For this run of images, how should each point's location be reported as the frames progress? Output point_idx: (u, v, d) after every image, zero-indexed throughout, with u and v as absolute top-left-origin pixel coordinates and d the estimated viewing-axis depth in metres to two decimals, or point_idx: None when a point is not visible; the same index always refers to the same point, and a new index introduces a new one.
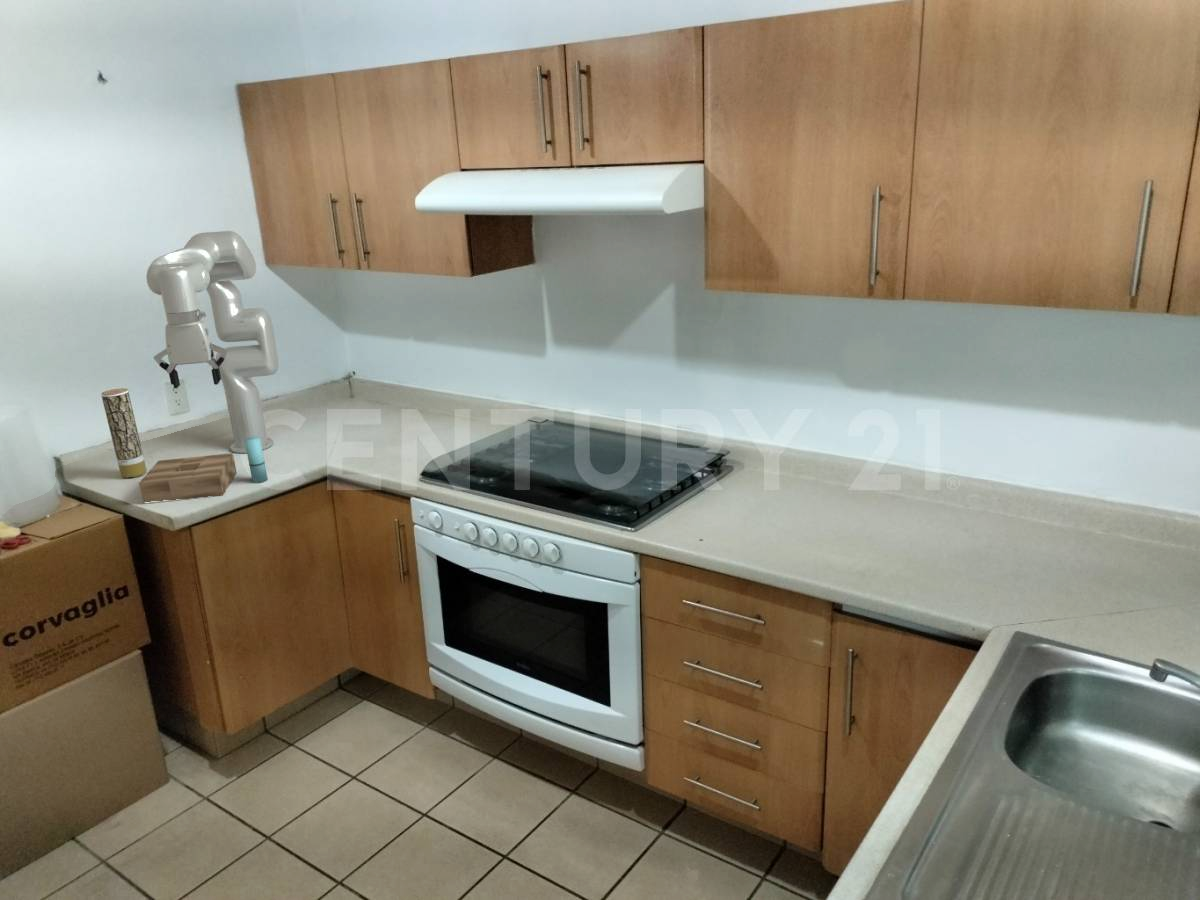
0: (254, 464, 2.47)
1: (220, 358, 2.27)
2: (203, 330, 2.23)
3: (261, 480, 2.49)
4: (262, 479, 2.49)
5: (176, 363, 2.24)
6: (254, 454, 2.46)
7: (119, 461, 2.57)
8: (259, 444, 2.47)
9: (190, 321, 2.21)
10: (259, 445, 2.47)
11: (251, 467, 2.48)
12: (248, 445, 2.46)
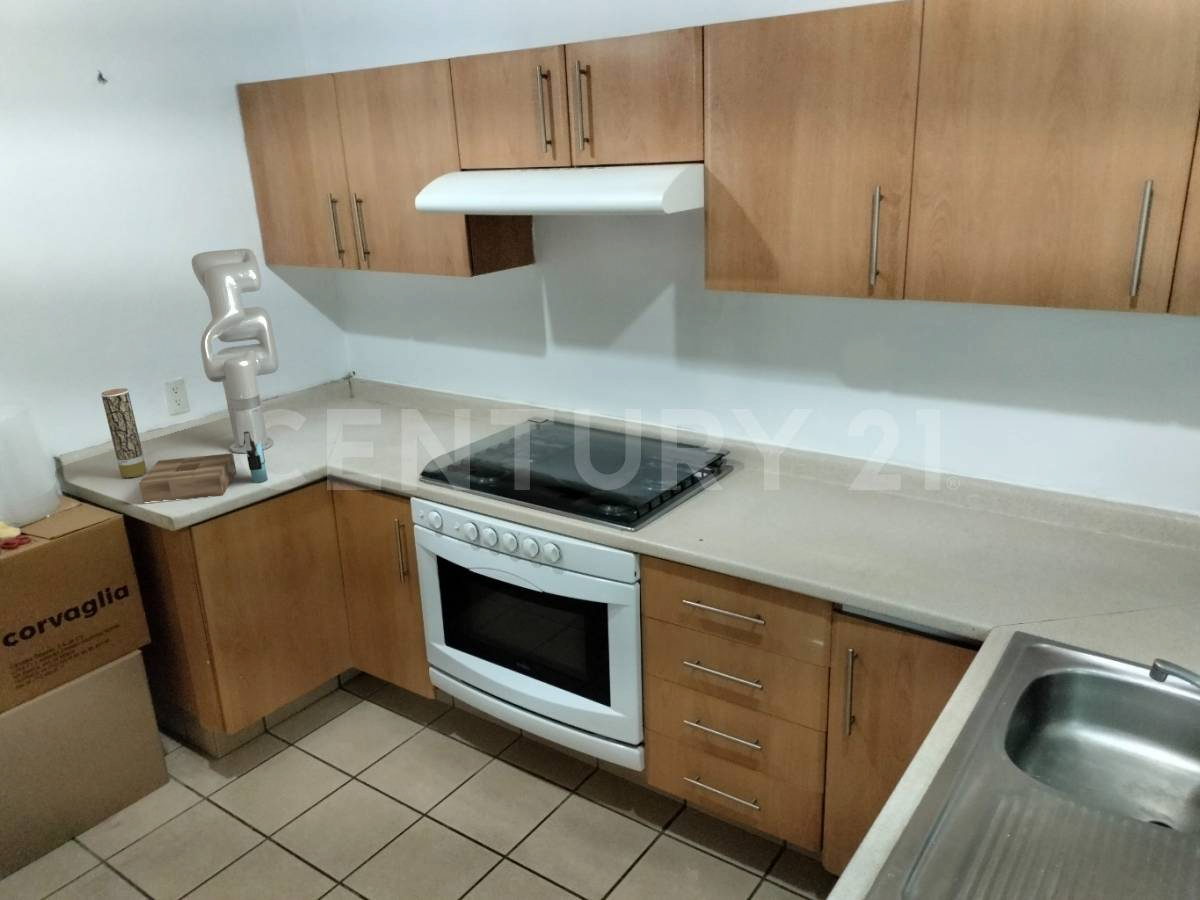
0: None
1: None
2: None
3: (261, 480, 2.49)
4: (262, 479, 2.49)
5: (257, 443, 2.44)
6: None
7: (119, 461, 2.57)
8: (259, 444, 2.47)
9: None
10: (259, 445, 2.47)
11: None
12: None
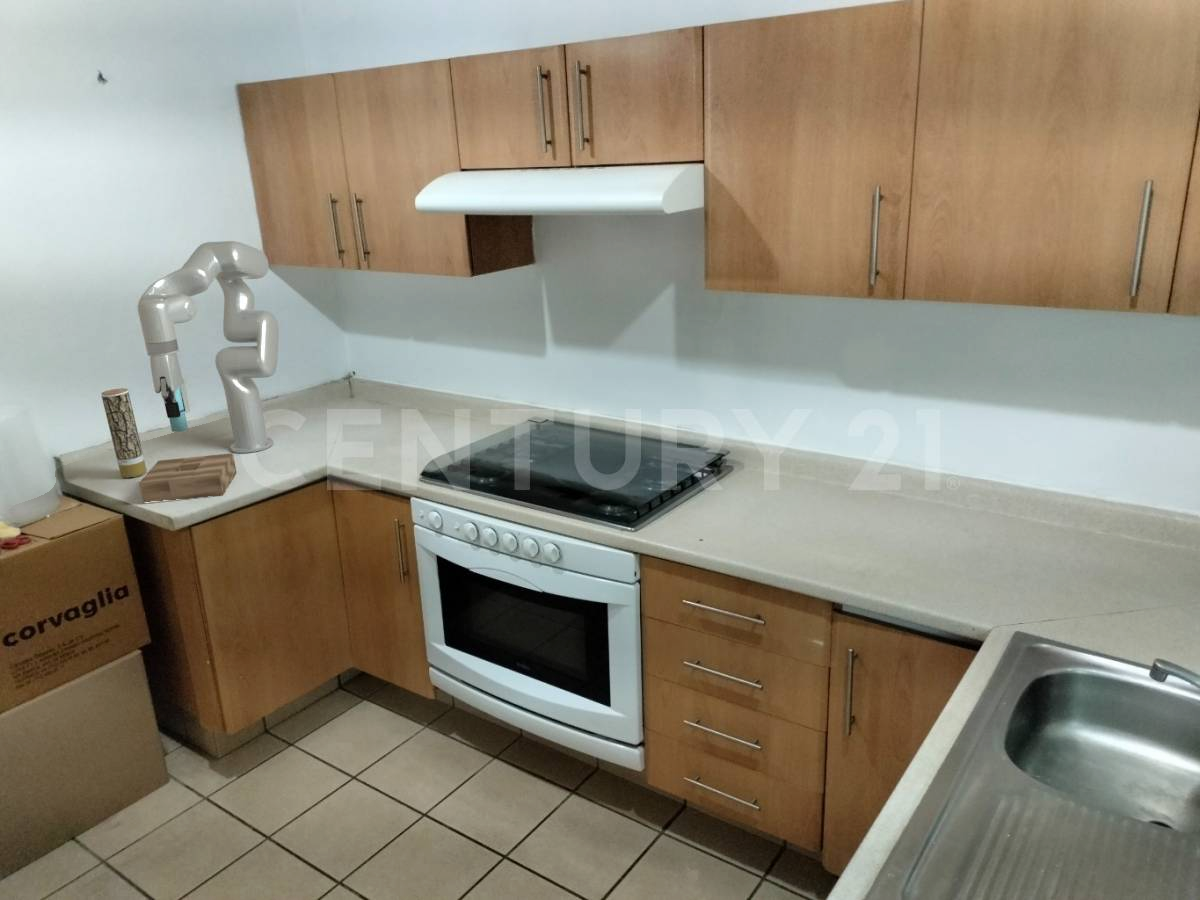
0: None
1: (179, 386, 2.44)
2: None
3: (180, 428, 2.41)
4: (181, 427, 2.41)
5: (175, 389, 2.36)
6: None
7: (119, 461, 2.57)
8: (177, 391, 2.39)
9: None
10: (177, 392, 2.39)
11: None
12: None
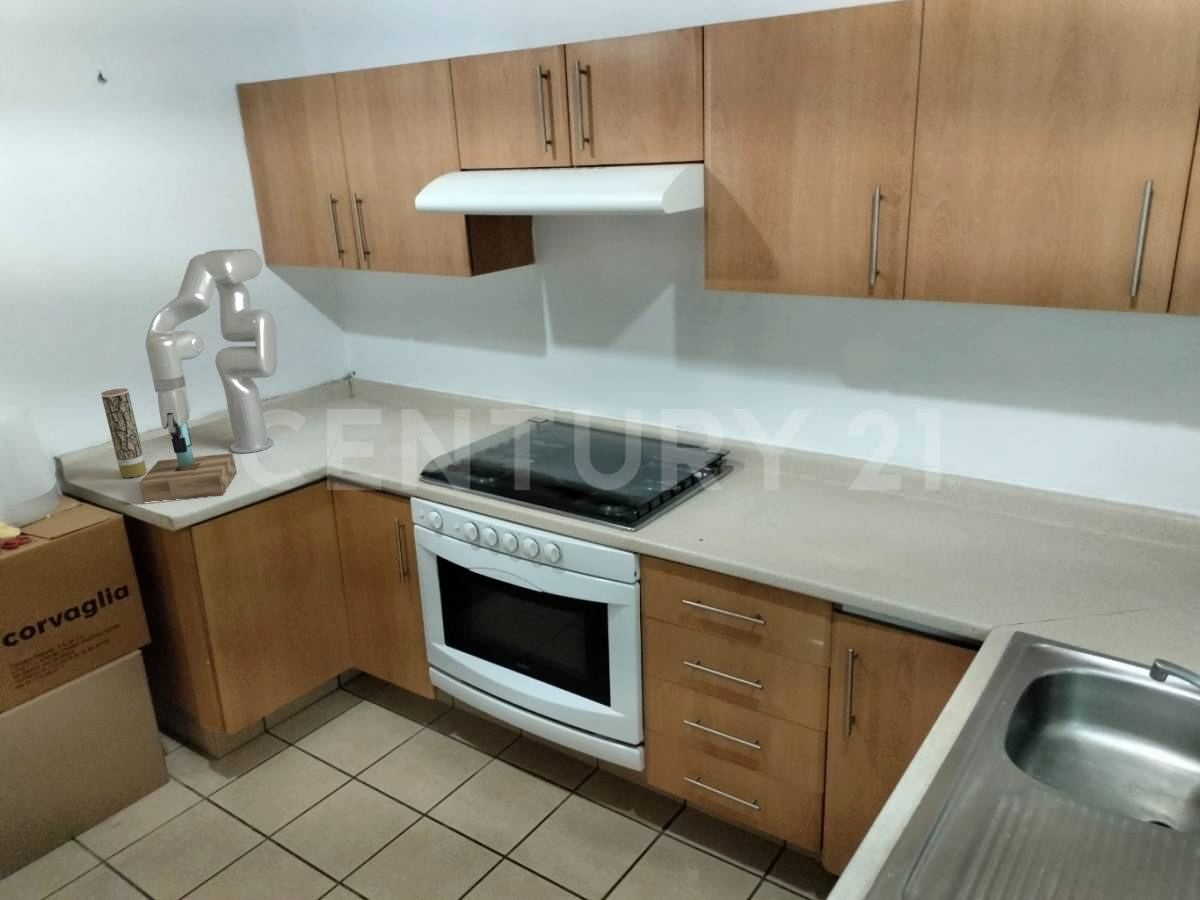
0: None
1: None
2: None
3: (187, 463, 2.44)
4: (188, 462, 2.44)
5: (182, 425, 2.39)
6: None
7: (119, 461, 2.57)
8: (184, 426, 2.42)
9: None
10: (184, 427, 2.42)
11: None
12: None
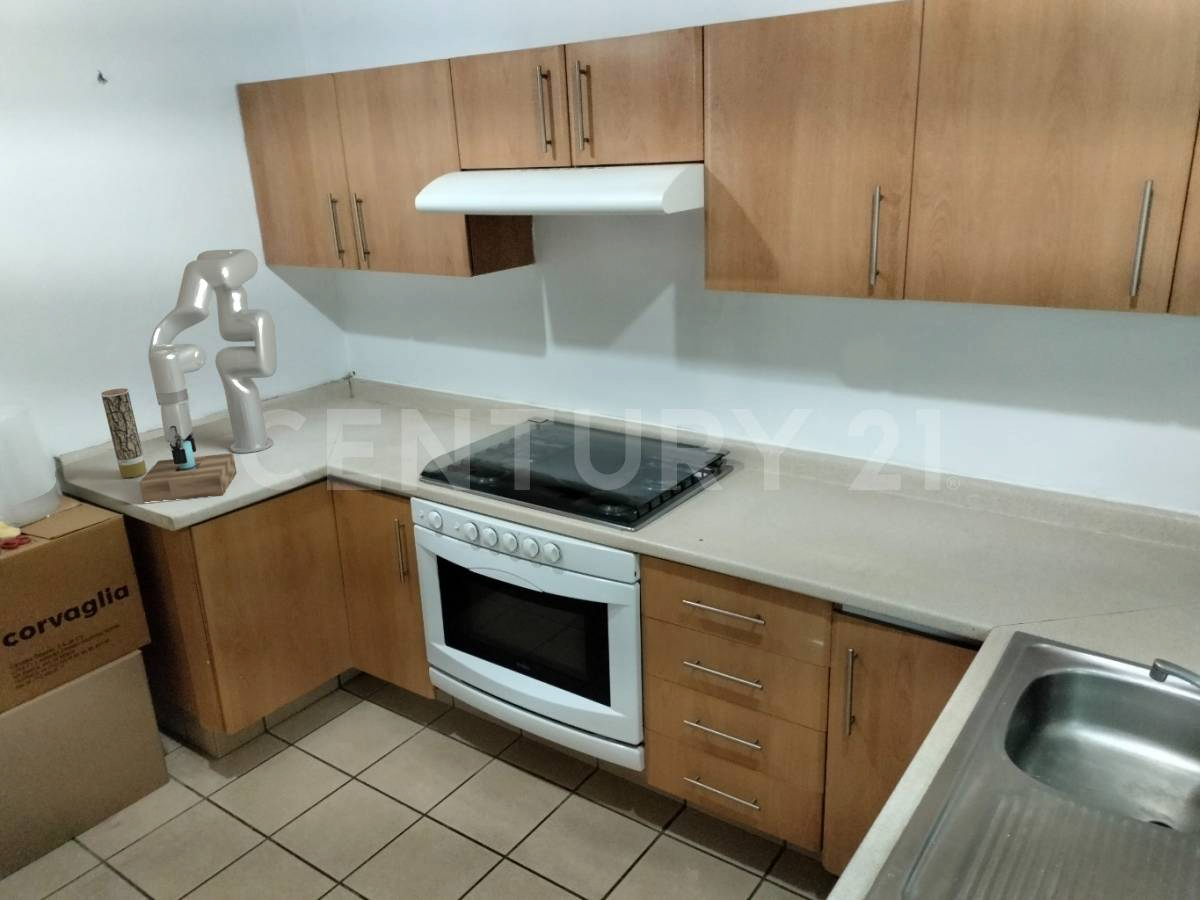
0: (184, 468, 2.44)
1: None
2: None
3: None
4: None
5: (185, 438, 2.41)
6: None
7: (119, 461, 2.57)
8: (189, 448, 2.44)
9: None
10: (189, 449, 2.44)
11: None
12: None
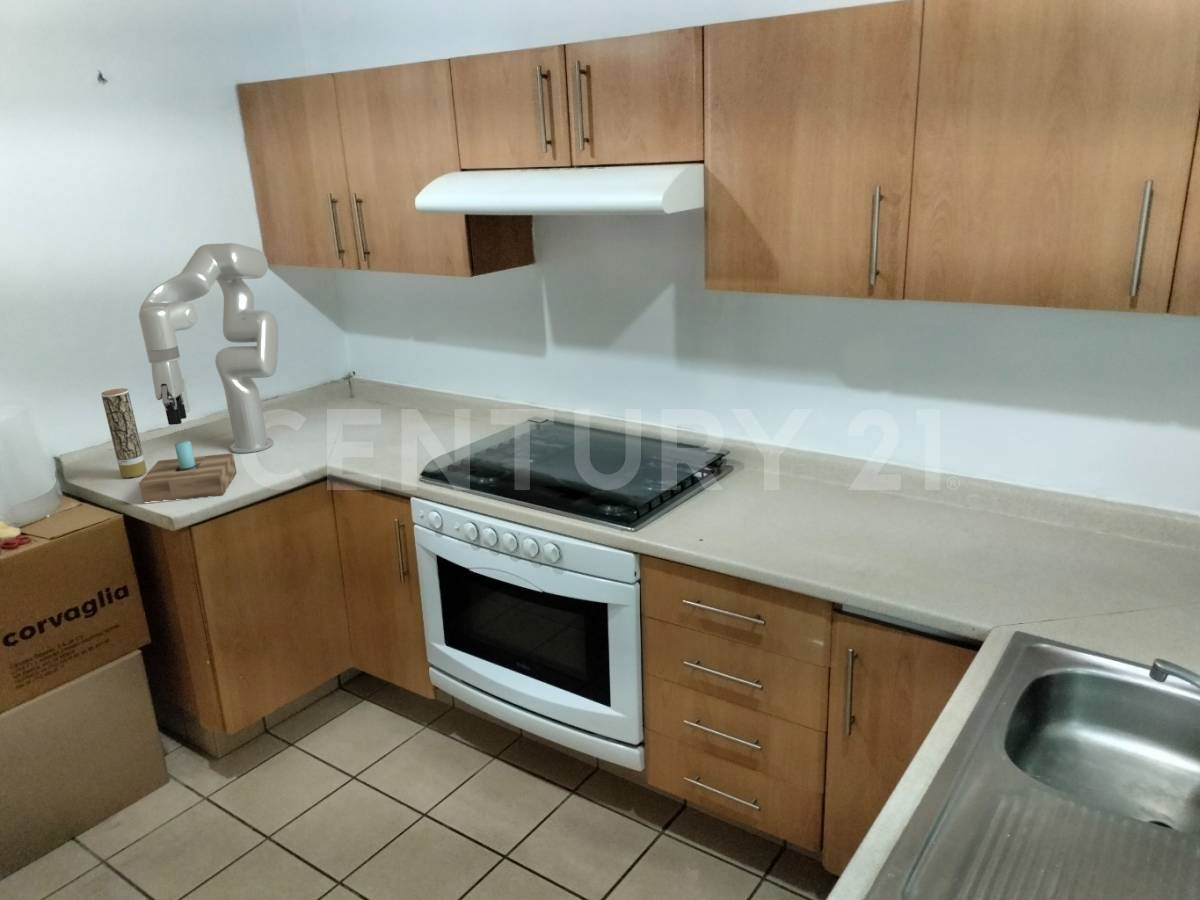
0: (184, 468, 2.44)
1: None
2: None
3: None
4: None
5: (176, 396, 2.37)
6: (184, 458, 2.43)
7: (119, 461, 2.57)
8: (189, 448, 2.44)
9: None
10: (189, 449, 2.44)
11: None
12: (177, 448, 2.43)
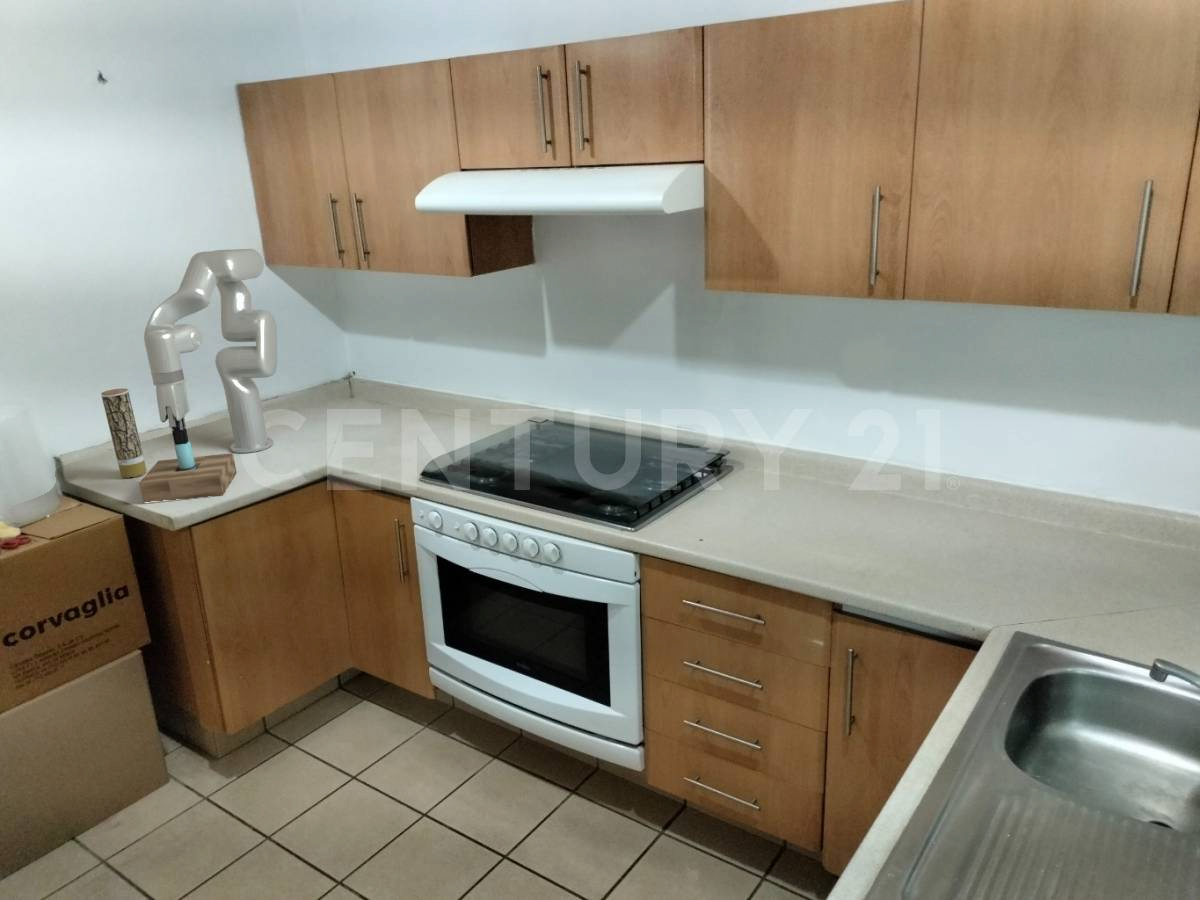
0: (184, 468, 2.44)
1: None
2: None
3: None
4: None
5: (180, 418, 2.39)
6: (184, 458, 2.43)
7: (119, 461, 2.57)
8: (189, 448, 2.44)
9: None
10: (189, 449, 2.44)
11: None
12: (177, 449, 2.42)
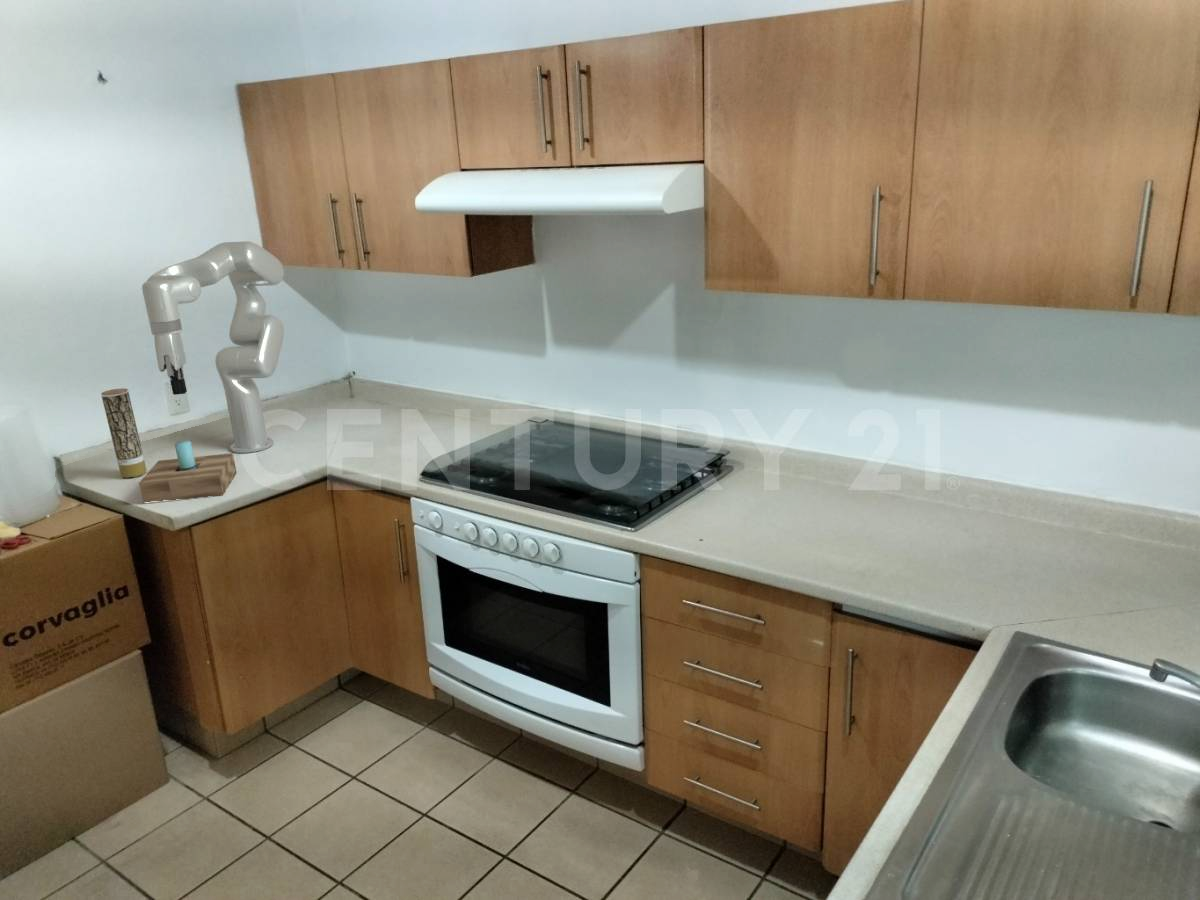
0: (184, 468, 2.44)
1: None
2: None
3: None
4: None
5: (178, 368, 2.41)
6: (184, 458, 2.43)
7: (119, 461, 2.57)
8: (189, 448, 2.44)
9: None
10: (189, 449, 2.44)
11: None
12: (178, 448, 2.43)
